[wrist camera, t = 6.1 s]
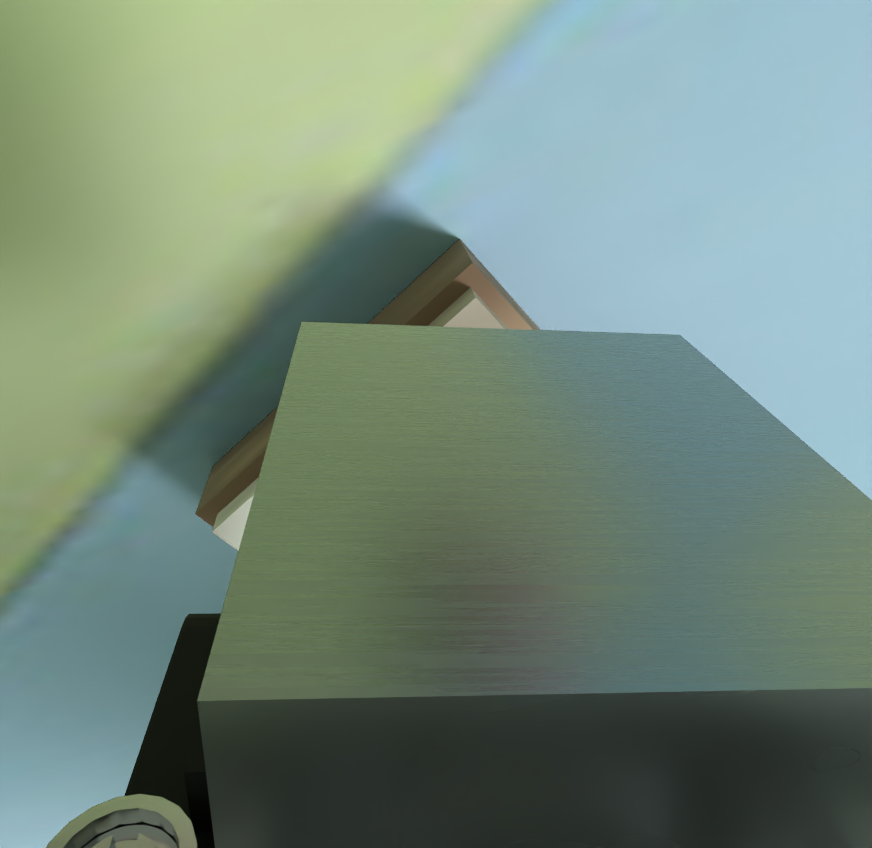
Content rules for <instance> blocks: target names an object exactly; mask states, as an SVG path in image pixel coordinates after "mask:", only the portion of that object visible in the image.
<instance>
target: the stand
mask: <svg viewBox="0 0 872 848" xmlns="http://www.w3.org/2000/svg"><path fill="white" fill-rule="evenodd" d="M368 324H381V325H410V326H438V327H467V328H496V329H524V330H540V329H539V328H538V327H537V325H536V324H535V323H534V322H533V321H532V320H531V319H530V318H529V316H528V315H527V314H526V313H525V312H524V311H523V310H522V309H521V307H520V306H519V305H518V304H517V303H516V302H515V301H514V299H513V298H512V297H511V296H510V295H509V294H508V293H507V292H506V290H505V289H504V288H503V287H502V286H501V285H500V284H499V283H498V281H497V280H496V279H495V278H494V277H493V276H492V275H491V274H490V272H489V271H488V270H487V269H486V268H485V267H484V266H483V265H482V263H481V262H480V261H479V260H478V259H477V258H476V257H475V256H474V254H473V253H472V252H471V251H470V250H469V249H468V248H467V247H466V245H465V244H464V243H463V242H462V241H461V240H460V239H459V240H458V241H457V242H455V243H454V244H453V245H452V246H451V247H450V248H449V249H448V250H447V251H446V252H445V253H444V254H442V255H441V256H440V257H439V258H438V259H437V260H436V261H435V262H434V263H433V264H432V265H431V266H429V267H428V268H427V269H426V270H425V271H424V272H423V273H422V274H421V275H420V276H419V277H418V278H416V279H415V280H414V281H413V282H412V283H411V284H410V285H409V286H408V287H407V288H406V289H404V290H403V291H402V292H401V293H400V294H399V295H398V296H397V297H396V298H395V299H394V300H393V301H391V302H390V303H389V304H388V305H387V306H386V307H385V308H384V309H383V310H382V311H381V312H380V313H378V314H377V315H376V316H375V317H374V318H373V319H372V320H371V321H370V322H369V323H368ZM277 409H278V407H277V408H276V409H274V410H273V411H272V412H271V413H270V414H269V415H268V416H267V417H266V418H265V419H264V420H263V421H261V422H260V423H259V424H258V425H257V426H256V427H255V428H254V429H253V430H252V431H251V432H250V433H248V434H247V435H246V436H245V437H244V438H243V439H242V440H241V441H240V442H239V443H238V444H237V445H235V446H234V447H233V448H232V449H231V450H230V451H229V452H228V453H227V454H226V455H225V456H224V457H222V458H221V459H220V460H219V461H218V462H217V463H216V464H215V465H214V466H213V467H212V469H211V472H210V475H209V478H208V480H207V483H206V486H205V489H204V491H203V494H202V497H201V500H200V502H199V505H198V508H197V511H196V513H195V514H196V515H197V516H199V517H200V518H202V519H203V520H204V521H206V522H207V523H208V524H210V525H211V526H213V530H212V532H213V533H214V534H215V535H217V536H218V537H220V538H221V539H222V540H224V541H225V542H226V543H228V544H229V545H231V546H232V547H233V548H235V549H236V550H238V551H239V547H240V543H241V540H242V536H243V533H244V529H245V525H246V522H247V518H248V514H249V511H250V507H251V503H252V500H253V496H254V493H255V489H256V485H257V482H258V478H259V474H260V471H261V467H262V464H263V460H264V456H265V453H266V449H267V445H268V442H269V438H270V434H271V431H272V427H273V424H274V420H275V416H276V413H277Z"/></svg>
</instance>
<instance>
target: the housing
mask: <svg viewBox="0 0 872 848" xmlns="http://www.w3.org/2000/svg"><path fill="white" fill-rule="evenodd" d="M197 704H198V712H199V720H200V729H201V737H202V745H203V753H204V761H205V770H206V778H207V786H208V794H209V802H210V811H211V819H212V827H213V835H214V843H215V848H872V500H871V499H869V498H868V497H867V496H866V495H865V494H864V493H863V492H861V491H860V490H859V489H858V488H857V487H856V486H854V485H853V484H852V483H851V482H850V481H849V480H847V479H846V478H845V477H844V476H843V475H842V474H840V473H839V472H838V471H837V470H836V469H835V468H834V467H832V466H831V465H830V464H829V463H828V462H827V461H825V460H824V459H823V458H822V457H821V456H820V455H818V454H817V453H816V452H815V451H814V450H813V449H811V448H810V447H809V446H808V445H807V444H806V443H805V442H803V441H802V440H801V439H800V438H799V437H798V436H796V435H795V434H794V433H793V432H792V431H791V430H789V429H788V428H787V427H786V426H785V425H784V424H783V423H781V422H780V421H779V420H778V419H777V418H776V417H774V416H773V415H772V414H771V413H770V412H769V411H767V410H766V409H765V408H764V407H763V406H762V405H760V404H759V403H758V402H757V401H756V400H755V399H754V398H752V397H751V396H750V395H749V394H748V393H747V392H745V391H744V390H743V389H742V388H741V387H740V386H738V385H737V384H736V383H735V382H734V381H733V380H732V379H730V378H729V377H728V376H727V375H726V374H725V373H723V372H722V371H721V370H720V369H719V368H718V367H716V366H715V365H714V364H713V363H712V362H711V361H709V360H708V359H707V358H706V357H705V356H704V355H703V354H701V353H700V352H699V351H698V350H697V349H696V348H694V347H693V346H692V345H691V344H690V343H689V342H687V341H686V340H685V339H684V338H683V337H682V336H680V335H667V334H638V333H610V332H581V331H553V330H524V329H496V328H467V327H438V326H410V325H381V324H353V323H324V322H301V326H300V329H299V333H298V336H297V340H296V344H295V347H294V351H293V355H292V358H291V362H290V365H289V369H288V373H287V376H286V380H285V384H284V387H283V391H282V395H281V398H280V402H279V405H278V409H277V413H276V416H275V420H274V424H273V427H272V431H271V434H270V438H269V442H268V445H267V449H266V453H265V456H264V460H263V464H262V467H261V471H260V474H259V478H258V482H257V485H256V489H255V493H254V496H253V500H252V503H251V507H250V511H249V514H248V518H247V522H246V525H245V529H244V533H243V536H242V540H241V543H240V547H239V551H238V554H237V558H236V562H235V565H234V569H233V572H232V576H231V580H230V583H229V587H228V591H227V594H226V598H225V602H224V605H223V609H222V612H221V616H220V620H219V623H218V627H217V631H216V634H215V638H214V641H213V645H212V649H211V652H210V656H209V660H208V663H207V667H206V671H205V674H204V678H203V681H202V685H201V689H200V692H199V696H198V700H197Z"/></svg>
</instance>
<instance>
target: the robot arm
mask: <svg viewBox="0 0 872 848" xmlns="http://www.w3.org/2000/svg"><path fill="white" fill-rule="evenodd" d="M220 616H221V614H189V615H188V616H187V617H186V618H185V621H184V623H183V625H182V628H181V631H180V634H179V637H178V639H177V642H176V645H175V648H174V651H173V654H172V657H171V660H170V663H169V666H168V669H167V672H166V675H165V678H164V681H163V684H162V687H161V690H160V693H159V696H158V698H157V701H156V704H155V707H154V710H153V713H152V716H151V719H150V722H149V725H148V728H147V731H146V734H145V737H144V740H143V743H142V746H141V749H140V752H139V754H138V757H137V760H136V763H135V766H134V769H133V772H132V775H131V778H130V781H129V784H128V787H127V790H126V793H125V796H122V797H116V798H113V799H111V800H108V801H106V802H103V803H101V804H98V805H96V806H93V807H91V808H90V809H88V810H87V811H85V812H84V813H82V814H81V815H79V816H78V817H76V818H75V819H73V820H72V821H70V822H69V823H68V824H67V825H66V826H65V827H64V828H63V829H62V830H61V831H60V832H59V833H58V834H57V835H56V836H55V837H54V838H53V839H52V840H51V841H50V842H49V843H48V845H47V847H46V848H215V843H214V835H213V827H212V819H211V811H210V802H209V794H208V786H207V778H206V770H205V761H204V753H203V745H202V737H201V729H200V720H199V712H198V704H197V700H198V696H199V692H200V689H201V685H202V681H203V678H204V674H205V671H206V667H207V663H208V660H209V656H210V652H211V649H212V645H213V641H214V638H215V634H216V631H217V627H218V623H219V620H220Z"/></svg>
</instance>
